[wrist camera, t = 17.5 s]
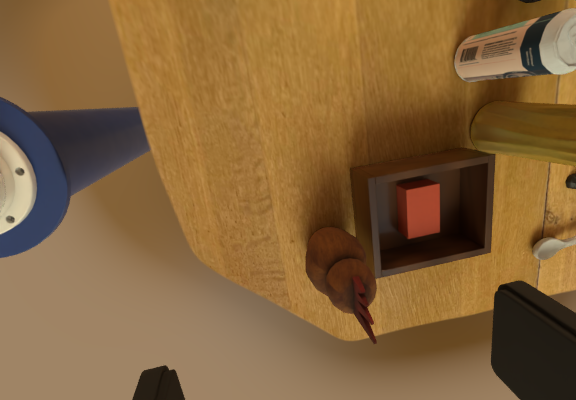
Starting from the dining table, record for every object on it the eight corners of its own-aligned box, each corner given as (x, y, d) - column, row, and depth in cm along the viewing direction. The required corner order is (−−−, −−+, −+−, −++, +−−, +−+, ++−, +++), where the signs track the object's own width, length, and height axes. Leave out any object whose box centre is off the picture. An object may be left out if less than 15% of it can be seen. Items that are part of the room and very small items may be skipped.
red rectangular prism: (428, 225, 40) (440, 232, 38) (398, 231, 40) (408, 239, 38) (427, 178, 39) (439, 183, 36) (396, 184, 38) (406, 190, 36)
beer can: (464, 91, 37) (566, 86, 26) (443, 57, 36) (541, 36, 24) (497, 61, 37) (616, 43, 25) (477, 25, 35) (593, -11, 24)
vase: (518, 99, 38) (673, 97, 25) (512, 150, 40) (652, 174, 27) (471, 103, 38) (604, 103, 24) (467, 155, 40) (588, 183, 26)
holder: (358, 257, 41) (375, 279, 36) (349, 168, 38) (367, 178, 33) (460, 235, 43) (490, 252, 38) (461, 147, 39) (495, 153, 34)
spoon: (527, 241, 44) (541, 246, 43) (597, 212, 46) (614, 216, 44) (527, 259, 45) (541, 266, 44) (596, 230, 47) (612, 235, 45)
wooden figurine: (338, 273, 41) (392, 362, 27) (294, 265, 40) (328, 355, 26) (354, 224, 40) (422, 291, 26) (310, 214, 38) (355, 280, 24)
